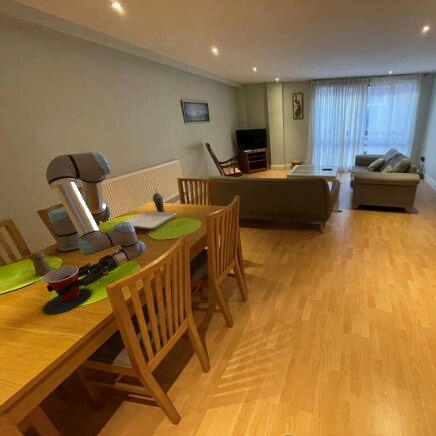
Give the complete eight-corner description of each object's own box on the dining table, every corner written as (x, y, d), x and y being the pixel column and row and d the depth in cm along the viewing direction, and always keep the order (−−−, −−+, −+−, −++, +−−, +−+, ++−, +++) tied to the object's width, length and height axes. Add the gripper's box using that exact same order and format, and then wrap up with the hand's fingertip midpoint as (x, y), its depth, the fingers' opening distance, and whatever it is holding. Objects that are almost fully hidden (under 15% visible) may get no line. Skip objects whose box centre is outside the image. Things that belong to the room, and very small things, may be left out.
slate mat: (35, 307, 96) (35, 307, 96) (78, 285, 108) (78, 285, 108) (56, 318, 90) (55, 318, 90) (98, 293, 103) (98, 293, 103)
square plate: (153, 232, 158) (152, 227, 157) (117, 230, 162) (115, 225, 161) (177, 217, 183) (176, 212, 181) (145, 215, 187) (144, 210, 186)
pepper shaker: (52, 267, 122) (43, 248, 118) (54, 271, 118) (45, 252, 114) (35, 272, 118) (25, 253, 113) (37, 277, 114) (27, 257, 110)
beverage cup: (155, 213, 190) (148, 189, 182) (157, 210, 196) (151, 187, 189) (165, 212, 192) (159, 188, 184) (166, 209, 198) (161, 186, 190)
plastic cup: (68, 307, 95) (56, 282, 91) (48, 303, 98) (35, 279, 93) (94, 289, 105) (84, 266, 100) (75, 286, 107) (65, 263, 103)
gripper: (128, 272, 112) (70, 305, 92) (102, 263, 119) (43, 292, 99) (123, 258, 109) (63, 289, 89) (97, 250, 116) (35, 277, 97)
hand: (53, 291), depth 94 cm, fingers closed on plastic cup, 6 cm apart
